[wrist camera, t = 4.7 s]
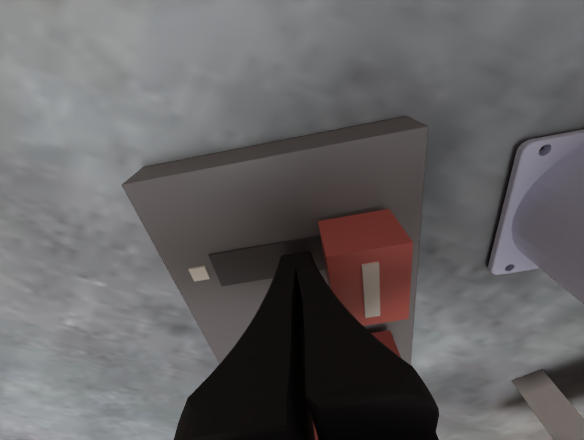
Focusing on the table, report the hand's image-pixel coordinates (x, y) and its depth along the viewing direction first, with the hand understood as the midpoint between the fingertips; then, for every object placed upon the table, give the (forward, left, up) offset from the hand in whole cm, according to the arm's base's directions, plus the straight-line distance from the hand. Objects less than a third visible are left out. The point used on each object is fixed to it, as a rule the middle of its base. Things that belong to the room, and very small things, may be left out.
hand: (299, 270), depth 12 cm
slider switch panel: (0, +8, -3) cm, 9 cm away
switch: (-3, 0, -1) cm, 3 cm away
